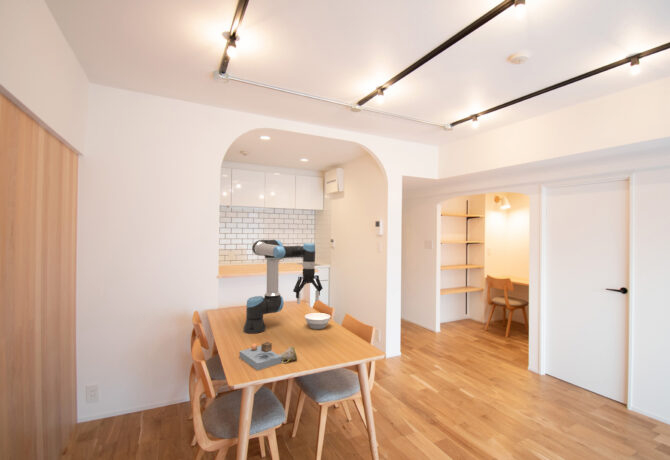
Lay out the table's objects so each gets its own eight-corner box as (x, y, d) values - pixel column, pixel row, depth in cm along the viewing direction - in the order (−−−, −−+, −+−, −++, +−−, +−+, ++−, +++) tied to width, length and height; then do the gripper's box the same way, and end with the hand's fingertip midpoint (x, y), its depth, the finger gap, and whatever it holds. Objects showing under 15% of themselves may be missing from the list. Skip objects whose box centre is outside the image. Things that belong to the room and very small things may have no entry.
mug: (276, 359, 171) (284, 341, 174) (292, 366, 172) (300, 349, 175) (277, 361, 164) (285, 343, 167) (293, 368, 165) (301, 350, 168)
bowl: (335, 326, 233) (335, 315, 233) (320, 333, 217) (320, 321, 217) (314, 322, 244) (314, 311, 244) (299, 328, 227) (299, 316, 227)
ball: (249, 349, 174) (249, 343, 174) (255, 348, 176) (255, 342, 176) (252, 351, 171) (252, 345, 171) (258, 350, 174) (258, 343, 174)
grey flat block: (239, 357, 172) (239, 351, 172) (262, 351, 181) (262, 345, 181) (257, 370, 156) (257, 363, 156) (281, 363, 165) (281, 356, 166)
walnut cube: (261, 350, 173) (261, 343, 173) (266, 348, 176) (266, 341, 176) (266, 352, 171) (266, 345, 171) (271, 350, 174) (271, 343, 174)
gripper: (294, 269, 181) (293, 305, 181) (328, 267, 196) (327, 301, 196) (288, 268, 187) (287, 303, 187) (321, 266, 202) (321, 298, 202)
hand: (308, 302), depth 192 cm, fingers open, 13 cm apart
